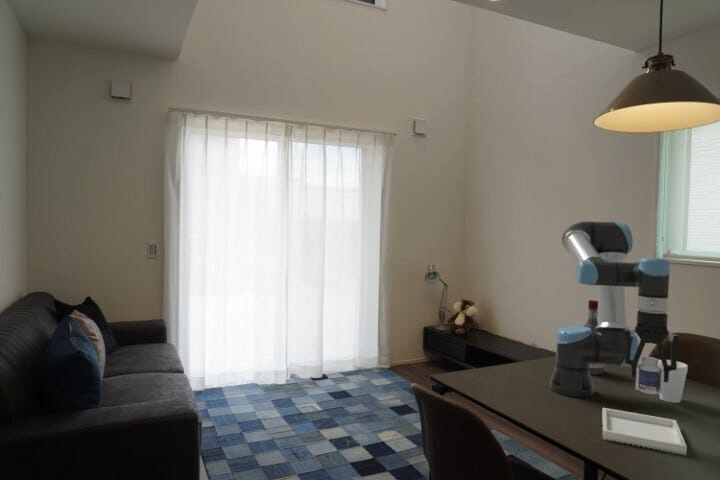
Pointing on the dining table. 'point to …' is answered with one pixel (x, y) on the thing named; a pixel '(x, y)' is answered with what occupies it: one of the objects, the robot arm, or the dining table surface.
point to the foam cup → (674, 382)
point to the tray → (643, 431)
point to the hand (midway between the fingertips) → (649, 390)
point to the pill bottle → (649, 376)
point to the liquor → (592, 325)
